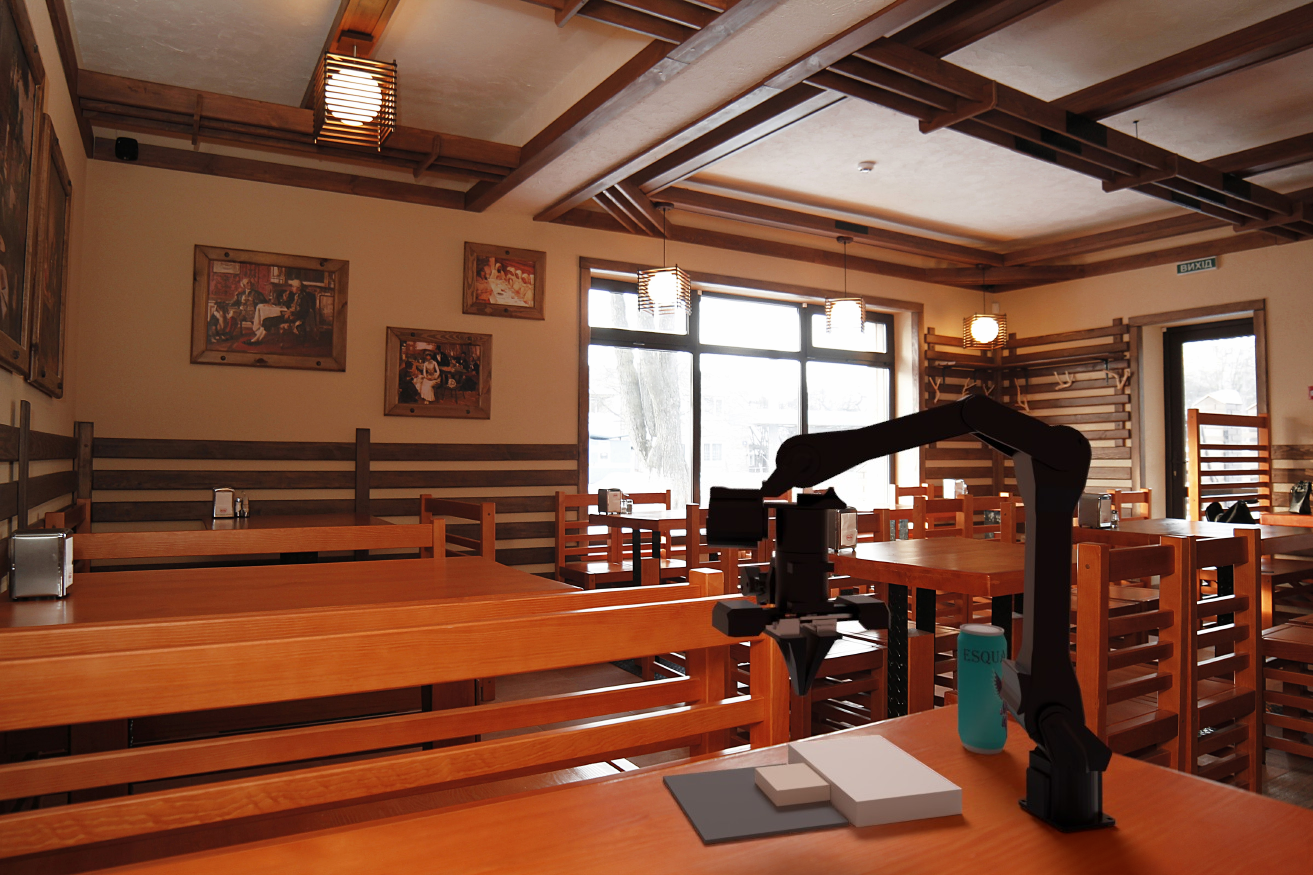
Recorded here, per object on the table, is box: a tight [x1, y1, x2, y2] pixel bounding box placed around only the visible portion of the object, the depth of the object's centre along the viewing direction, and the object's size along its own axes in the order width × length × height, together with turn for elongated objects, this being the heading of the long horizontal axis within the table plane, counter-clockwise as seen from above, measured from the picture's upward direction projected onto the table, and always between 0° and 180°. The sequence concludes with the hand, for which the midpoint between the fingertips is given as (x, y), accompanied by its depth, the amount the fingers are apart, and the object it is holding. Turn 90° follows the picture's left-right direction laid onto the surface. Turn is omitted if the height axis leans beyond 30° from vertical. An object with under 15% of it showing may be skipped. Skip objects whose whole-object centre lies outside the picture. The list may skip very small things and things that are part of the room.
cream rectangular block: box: [755, 763, 830, 806], centre depth 84 cm, size 6×6×2 cm
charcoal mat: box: [662, 763, 851, 845], centre depth 82 cm, size 15×15×1 cm
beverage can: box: [956, 623, 1008, 756], centre depth 98 cm, size 6×6×15 cm
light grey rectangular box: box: [787, 734, 963, 828], centre depth 86 cm, size 12×16×2 cm
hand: (800, 695), depth 84 cm, fingers closed
